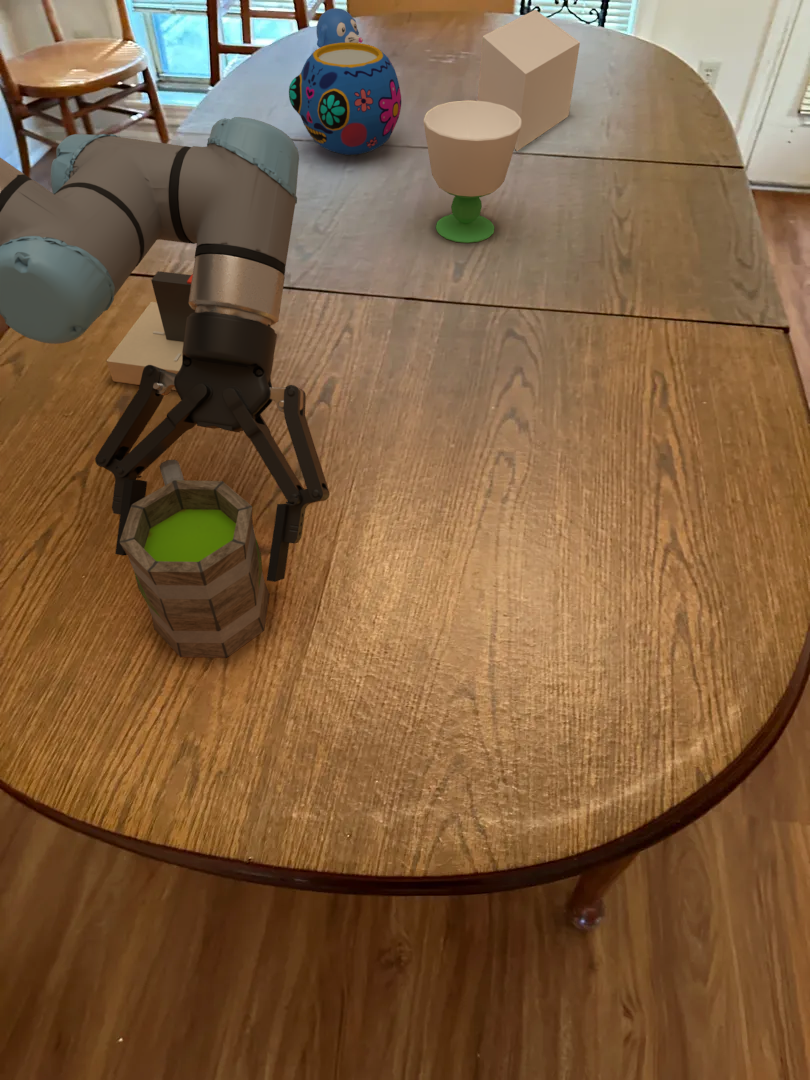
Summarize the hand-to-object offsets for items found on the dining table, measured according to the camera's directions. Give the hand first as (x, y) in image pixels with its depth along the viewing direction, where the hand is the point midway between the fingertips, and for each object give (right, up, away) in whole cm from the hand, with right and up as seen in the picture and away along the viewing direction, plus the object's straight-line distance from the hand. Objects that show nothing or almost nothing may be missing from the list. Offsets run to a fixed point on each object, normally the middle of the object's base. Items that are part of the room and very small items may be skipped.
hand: (200, 567), depth 68 cm
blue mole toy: (+5, +107, +102) cm, 147 cm away
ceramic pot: (+8, +72, +71) cm, 101 cm away
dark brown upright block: (-8, +27, +28) cm, 40 cm away
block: (+40, +84, +82) cm, 124 cm away
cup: (+27, +50, +53) cm, 77 cm away
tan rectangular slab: (-8, +25, +30) cm, 40 cm away
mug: (-1, -3, +6) cm, 7 cm away
